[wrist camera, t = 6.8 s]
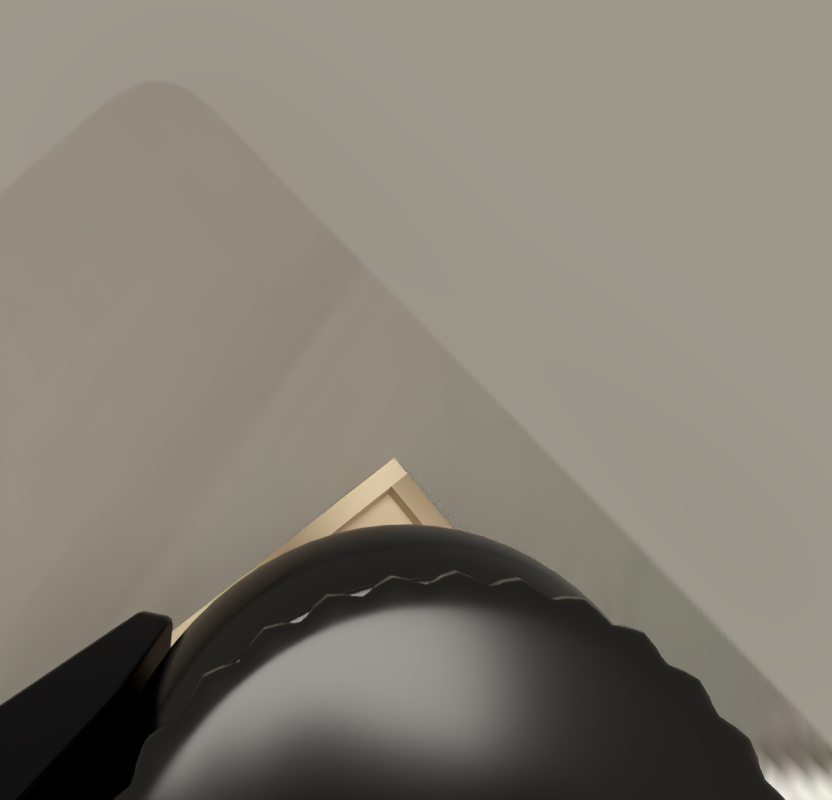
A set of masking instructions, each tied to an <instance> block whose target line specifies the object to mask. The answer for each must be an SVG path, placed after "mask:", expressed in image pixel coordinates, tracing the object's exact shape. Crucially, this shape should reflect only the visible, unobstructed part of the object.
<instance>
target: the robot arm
mask: <svg viewBox="0 0 832 800" xmlns="http://www.w3.org/2000/svg"><path fill="white" fill-rule="evenodd" d="M172 627H173V624H172V619H171V618H170V617H168V616H165V615H160V614H156V613H151V612H146V611H143V612H139V613H137V614H135V615H134V616H132V617H131V618H129V619H128V620H126V621H125V622H123V623H122V624H120V625H119V626H117V627H116V628H114V629H113V630H111V631H110V632H108V633H107V634H105V635H104V636H102V637H101V638H100V639H98V640H97V641H95V642H94V643H92V644H91V645H89V646H88V647H86V648H85V649H83V650H82V651H80V652H79V653H77V654H76V655H74V656H73V657H71V658H70V659H68V660H67V661H65V662H64V663H62V664H61V665H59V666H58V667H56V668H55V669H53V670H52V671H50V672H49V673H48V674H46V675H45V676H43V677H42V678H40V679H39V680H37V681H36V682H34V683H33V684H31V685H30V686H28V687H27V688H25V689H24V690H22V691H21V692H19V693H18V694H16V695H15V696H13V697H12V698H10V699H9V700H7V701H6V702H4V703H3V704H1V705H0V800H96V799H97V796H98V793H99V789H100V786H101V783H102V780H103V776H104V773H105V770H106V767H107V764H108V761H109V759H110V756H111V754H112V751H113V749H114V746H115V744H116V741H117V739H118V736H119V734H120V732H121V730H122V728H123V726H124V723H125V721H126V719H127V717H128V715H129V713H130V711H131V709H132V707H133V705H134V703H135V701H136V700H137V698H138V696H139V695H140V693H141V691H142V690H143V688H144V686H145V685H146V683H147V681H148V680H149V678H150V676H151V675H152V673H153V671H154V670H155V669H156V667H157V666H158V664H159V663H160V662H161V660H162V659H163V658H164V656H165V655H166V653H167V652H168V651H169V649H170V648H171V638H172Z"/></svg>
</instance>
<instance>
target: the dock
mask: <svg viewBox="0 0 832 800" xmlns="http://www.w3.org/2000/svg"><path fill="white" fill-rule="evenodd" d="M398 524H415V525H428V526H438V527H444V528H450V529H453V528H452V527H451V526H450V524H449V523H448V522H447V521H446V520H445V518H444V517H443V516H442V515H441V514H440V512H439V511H438V510H437V509H436V508H435V506H434V505H433V504H432V503H431V502H430V500H429V499H428V498H427V497H426V496H425V494H424V493H423V492H422V491H421V490H420V488H419V487H418V486H417V485H416V484H415V482H414V481H413V480H412V479H411V478H410V476H409V475H408V474H407V473H406V472H405V470H404V469H403V468H402V467H401V466H400V464H399V463H398V462H397V461H396V460H395V458H394V459H392V460H391V461H390V462H388V463H387V464H386V465H385V466H383V467H382V468H381V469H379V470H378V471H377V472H376V473H374V474H373V475H372V476H370V477H369V478H368V479H367V480H365V481H364V482H363V483H362V484H360V485H359V486H358V487H356V488H355V489H354V490H353V491H351V492H350V493H349V494H347V495H346V496H345V497H344V498H342V499H341V500H340V501H338V502H337V503H336V504H335V505H333V506H332V507H331V508H330V509H328V510H327V511H326V512H324V513H323V514H322V515H321V516H319V517H318V518H317V519H315V520H314V521H313V522H312V523H310V524H309V525H308V526H306V527H305V528H304V529H303V530H301V531H300V532H299V533H298V534H296V535H295V536H294V537H292V538H291V539H290V540H289V541H287V542H286V543H285V544H283V545H282V546H281V547H280V548H278V549H277V550H276V551H275V552H273V553H272V554H271V555H269V556H268V557H267V558H266V559H264V560H263V561H262V562H260V563H259V564H258V565H257V566H255V567H254V568H253V569H251V570H250V571H249V572H248V573H246V574H245V575H244V576H243V577H241V578H240V579H239V580H241V579H242V578H244V577H245V576H247V575H248V574H250V573H251V572H252V571H254V570H255V569H257V568H258V567H260V566H261V565H263V564H265V563H267V562H269V561H271V560H272V559H274V558H276V557H278V556H280V555H281V554H283V553H285V552H287V551H290V550H292V549H294V548H297V547H299V546H301V545H303V544H306V543H308V542H310V541H314V540H317V539H320V538H323V537H326V536H329V535H332V534H335V533H339V532H344V531H348V530H353V529H357V528H363V527H372V526H380V525H398ZM239 580H237V581H236V582H238V581H239ZM236 582H235V583H236ZM235 583H234V584H235ZM234 584H232V585H231V586H233V585H234ZM231 586H230V587H231ZM230 587H228V588H227V589H226V590H225V591H227V590H228V589H229V588H230ZM225 591H223V592H222V593H221V594H219V595H218V596H217V597H216V598H214V599H213V600H212V601H211V602H209V603H208V604H207V605H205V606H204V607H203V608H202V609H200V610H199V611H198V612H196V613H195V614H194V615H193V616H191V617H190V618H189V619H187V620H186V621H185V622H184V623H182V624H181V625H180V626H179V627H177V628H176V629H175V630H173V631H172V638H171V646H172V645H173V644H174V643H175V642H176V641H177V639H178V638H179V637H180V636H181V635H182V634H183V632H184V631H185V630H186V629H187V628H188V627H189V625H190V624H191V623H192V622H193V621H194V620H195V619H196V618H197V617H198V616H199V615H200V614H201V613H202V612H203V611H204V610H205V609H206V608H207V607H208V606H209V605H210V604H211V603H212V602H213V601H214V600H216V599H217V598H218V597H219V596H221V595H222V594H223V593H224V592H225Z"/></svg>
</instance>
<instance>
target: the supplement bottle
mask: <svg viewBox="0 0 832 800" xmlns="http://www.w3.org/2000/svg"><path fill="white" fill-rule="evenodd" d="M96 800H785V799H784V798H783V797H782V796H781V795H780V794H779V793H778V792H777V791H776V790H775V789H774V788H773V787H772V786H771V785H770V784H769V783H768V782H767V781H766V780H765V778H764V776H763V774H762V771H761V769H760V767H759V762H758V758H757V755H756V753H755V751H754V748H753V746H752V744H751V741H750V739H749V738H748V737H747V736H746V735H744V734H743V733H742V732H741V731H739V730H738V729H737V728H736V727H735V726H733V725H731V724H730V723H728V722H727V721H725V720H724V719H722V718H721V717H719V715H718V714H717V712H716V710H715V709H714V707H713V705H712V702H711V700H710V697H709V695H708V694H707V692H706V690H705V689H704V687H703V685H702V684H701V682H700V680H699V679H697V678H695V677H694V676H692V675H690V674H688V673H686V672H685V671H683V670H681V669H678V668H675V667H672V666H670V665H668V664H667V663H666V662H665V661H664V659H663V658H662V657H661V655H660V654H659V652H658V650H657V648H656V647H655V646H654V644H653V643H652V642H651V641H650V639H649V638H648V637H647V636H646V635H645V633H643V632H641V631H639V630H636V629H633V628H629V627H626V626H622V625H613V624H612V623H611V621H610V620H609V619H608V618H607V617H606V616H605V615H604V614H603V613H602V612H601V611H600V609H599V608H598V607H597V606H595V605H594V604H593V603H592V602H591V601H590V600H589V599H588V598H587V597H586V596H585V595H583V594H582V593H581V592H580V591H579V590H578V589H577V588H575V587H574V586H573V585H571V584H570V583H569V582H568V581H566V580H565V579H564V578H562V577H561V576H560V575H558V574H557V573H556V572H554V571H552V570H551V569H549V568H548V567H546V566H544V565H543V564H541V563H540V562H538V561H536V560H535V559H533V558H531V557H529V556H527V555H525V554H523V553H521V552H519V551H517V550H515V549H513V548H511V547H509V546H506V545H504V544H501V543H499V542H496V541H494V540H491V539H488V538H486V537H482V536H479V535H475V534H472V533H468V532H465V531H461V530H455V529H450V528H444V527H438V526H428V525H415V524H398V525H380V526H372V527H363V528H357V529H353V530H348V531H344V532H339V533H335V534H332V535H329V536H326V537H323V538H320V539H317V540H314V541H310V542H308V543H306V544H303V545H301V546H299V547H297V548H294V549H292V550H290V551H287V552H285V553H283V554H281V555H280V556H278V557H276V558H274V559H272V560H271V561H269V562H267V563H265V564H263V565H261V566H260V567H258V568H257V569H255V570H254V571H252V572H251V573H250V574H248V575H247V576H245V577H244V578H242V579H241V580H239V581H238V582H236V583H235V584H234V585H233V586H231V587H230V588H229V589H228V590H227V591H225V592H224V593H223V594H222V595H221V596H219V597H218V598H217V599H216V600H214V601H213V602H212V603H211V604H210V605H209V606H208V607H207V608H206V609H205V610H204V611H203V612H202V613H201V614H200V615H199V616H198V617H197V618H196V619H195V620H194V621H193V622H192V623H191V624H190V625H189V627H188V628H187V629H186V630H185V631H184V632H183V634H182V635H181V636H180V637H179V638H178V639H177V641H176V642H175V643H174V644H173V645H172V646H171V648H170V649H169V651H168V652H167V653H166V655H165V656H164V658H163V659H162V660H161V662H160V663H159V664H158V666H157V667H156V669H155V670H154V671H153V673H152V675H151V676H150V678H149V680H148V681H147V683H146V685H145V686H144V688H143V690H142V691H141V693H140V695H139V696H138V698H137V700H136V701H135V703H134V705H133V707H132V709H131V711H130V713H129V715H128V717H127V719H126V721H125V723H124V726H123V728H122V730H121V732H120V734H119V736H118V739H117V741H116V744H115V746H114V749H113V751H112V754H111V756H110V759H109V761H108V764H107V767H106V770H105V773H104V776H103V780H102V783H101V786H100V789H99V793H98V796H97V799H96Z"/></svg>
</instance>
